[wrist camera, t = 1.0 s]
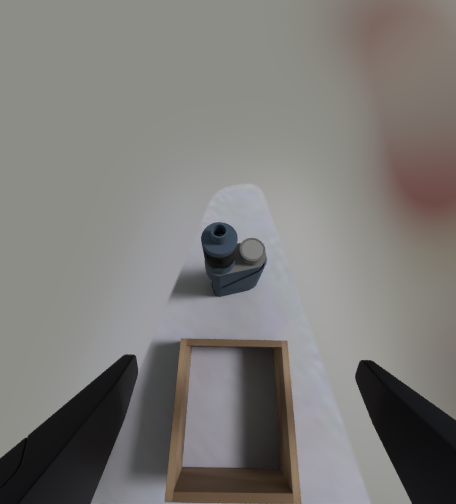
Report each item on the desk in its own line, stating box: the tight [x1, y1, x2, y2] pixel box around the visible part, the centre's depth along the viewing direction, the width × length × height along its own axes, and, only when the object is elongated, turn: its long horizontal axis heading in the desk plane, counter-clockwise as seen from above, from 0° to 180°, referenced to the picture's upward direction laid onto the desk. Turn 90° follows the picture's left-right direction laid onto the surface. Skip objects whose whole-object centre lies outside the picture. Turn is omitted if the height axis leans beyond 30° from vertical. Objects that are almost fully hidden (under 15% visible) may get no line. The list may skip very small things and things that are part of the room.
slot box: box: [165, 339, 301, 504], centre depth 18 cm, size 10×9×4 cm
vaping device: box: [201, 222, 267, 297], centre depth 19 cm, size 3×5×12 cm, turn 103°
